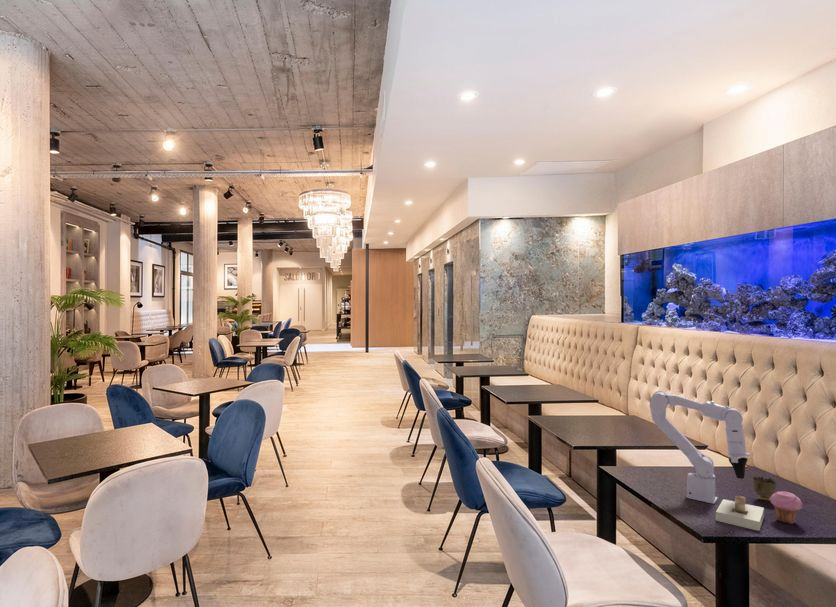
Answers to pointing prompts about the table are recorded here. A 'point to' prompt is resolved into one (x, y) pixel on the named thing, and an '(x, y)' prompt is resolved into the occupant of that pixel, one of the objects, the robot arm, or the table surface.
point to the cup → (764, 487)
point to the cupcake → (786, 506)
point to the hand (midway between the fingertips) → (740, 478)
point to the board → (740, 515)
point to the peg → (740, 504)
